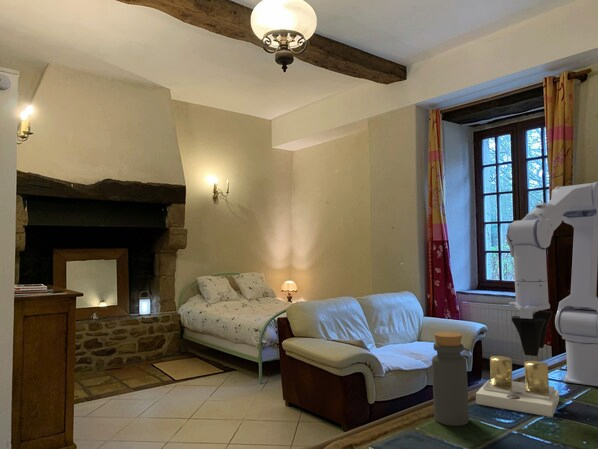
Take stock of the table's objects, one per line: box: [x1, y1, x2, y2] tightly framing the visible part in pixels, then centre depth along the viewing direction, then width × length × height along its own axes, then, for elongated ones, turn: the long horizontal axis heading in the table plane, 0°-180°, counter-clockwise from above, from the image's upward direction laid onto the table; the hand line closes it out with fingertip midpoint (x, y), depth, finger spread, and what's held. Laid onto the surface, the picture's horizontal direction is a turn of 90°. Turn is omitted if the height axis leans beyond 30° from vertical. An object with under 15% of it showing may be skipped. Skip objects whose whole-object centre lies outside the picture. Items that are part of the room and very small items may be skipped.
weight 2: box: [523, 360, 550, 393], centre depth 87 cm, size 4×4×5 cm
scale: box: [475, 379, 560, 418], centre depth 88 cm, size 10×13×2 cm
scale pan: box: [482, 379, 555, 400], centre depth 89 cm, size 7×12×1 cm, turn 54°
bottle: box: [431, 331, 470, 427], centre depth 80 cm, size 6×6×15 cm
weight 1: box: [489, 355, 513, 387], centre depth 91 cm, size 4×4×5 cm
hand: (534, 351), depth 87 cm, fingers open, 7 cm apart
